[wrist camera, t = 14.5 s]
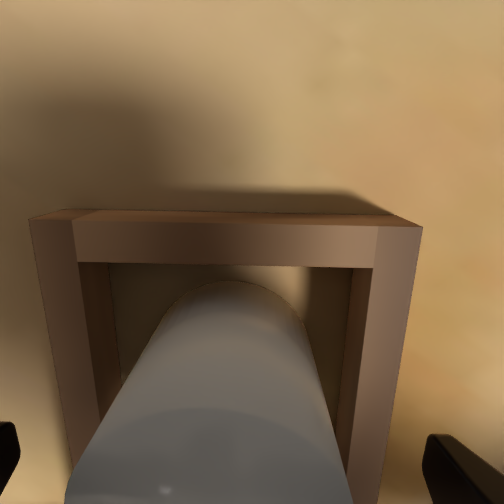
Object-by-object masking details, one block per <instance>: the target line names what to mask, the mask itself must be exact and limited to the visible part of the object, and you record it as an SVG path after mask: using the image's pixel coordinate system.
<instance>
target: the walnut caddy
mask: <svg viewBox="0 0 504 504" xmlns="http://www.w3.org/2000/svg"><path fill="white" fill-rule="evenodd" d="M28 220H29V226H30V231H31V237H32V242H33V248H34V254H35V259H36V265H37V270H38V276H39V281H40V287H41V293H42V298H43V304H44V309H45V315H46V320H47V326H48V332H49V337H50V343H51V348H52V354H53V359H54V365H55V371H56V376H57V382H58V387H59V393H60V399H61V404H62V410H63V415H64V421H65V426H66V432H67V438H68V443H69V449H70V454H71V460H72V465H73V470H74V468H75V466H76V465H77V463H78V461H79V459H80V458H81V456H82V454H83V453H84V451H85V449H86V448H87V446H88V444H89V442H90V441H91V439H92V437H93V436H94V434H95V432H96V430H97V429H98V427H99V425H100V424H101V422H102V420H103V419H104V417H105V415H106V413H107V412H108V410H109V408H110V407H111V405H112V403H113V402H114V400H115V398H116V396H117V395H118V393H119V391H120V390H121V388H122V384H121V375H120V367H119V358H118V349H117V340H116V332H115V323H114V314H113V305H112V297H111V288H110V279H109V270H108V262H116V263H163V264H209V265H256V266H303V267H349V268H353V275H352V284H351V293H350V302H349V311H348V320H347V329H346V338H345V348H344V357H343V366H342V375H341V384H340V393H339V402H338V411H337V421H336V430H335V438H336V442H337V445H338V449H339V453H340V456H341V460H342V464H343V467H344V471H345V475H346V478H347V482H348V486H349V489H350V493H351V497H352V500H353V504H377V499H378V493H379V487H380V481H381V475H382V469H383V463H384V457H385V451H386V445H387V440H388V434H389V428H390V422H391V416H392V410H393V404H394V398H395V392H396V386H397V380H398V374H399V368H400V362H401V356H402V350H403V344H404V338H405V332H406V326H407V320H408V314H409V308H410V302H411V296H412V290H413V284H414V278H415V272H416V266H417V260H418V254H419V248H420V242H421V236H422V230H423V227H422V226H419V225H417V224H415V223H412V222H410V221H408V220H406V219H403V218H401V217H399V216H397V215H349V214H297V213H245V212H193V211H142V210H90V209H64V210H60V211H56V212H53V213H49V214H46V215H42V216H39V217H35V218H31V219H28Z"/></svg>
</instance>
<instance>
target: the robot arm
mask: <svg viewBox="0 0 504 504" xmlns="http://www.w3.org/2000/svg"><path fill="white" fill-rule="evenodd" d="M20 453H21V450H20V445H19V441H18V437H17V432H16V428H15V425H14V424H13V423H12V422H5V421H0V496H1V494H2V492H3V490H4V488H5V486H6V484H7V483H8V481H9V479H10V477H11V475H12V473H13V471H14V470H15V468H16V466H17V464H18V461H19V459H20ZM422 471H423V475H424V478H425V481H426V484H427V487H428V490H429V493H430V496H431V498H432V501H433V504H504V475H503V474H501V473H500V472H499V471H497V470H496V469H495V468H493V467H492V466H491V465H490V464H488V463H487V462H486V461H484V460H483V459H482V458H480V457H479V456H478V455H476V454H475V453H474V452H472V451H471V450H470V449H468V448H467V447H466V446H464V445H463V444H462V443H461V442H459V441H458V440H457V439H455V438H454V437H452V436H451V435H448V434H430V435H429V436H428V438H427V441H426V446H425V451H424V455H423V460H422Z"/></svg>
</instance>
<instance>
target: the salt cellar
mask: <svg viewBox="0 0 504 504" xmlns="http://www.w3.org/2000/svg"><path fill="white" fill-rule="evenodd" d="M64 504H353V500H352V497H351V493H350V489H349V486H348V482H347V478H346V475H345V471H344V467H343V464H342V460H341V456H340V453H339V449H338V445H337V442H336V438H335V434H334V431H333V427H332V423H331V420H330V416H329V412H328V409H327V405H326V401H325V397H324V394H323V390H322V386H321V383H320V379H319V375H318V372H317V368H316V364H315V361H314V357H313V353H312V350H311V346H310V342H309V339H308V335H307V332H306V329H305V327H304V324H303V322H302V320H301V319H300V317H299V316H298V314H297V313H296V311H295V310H294V309H293V308H292V307H291V306H290V305H289V304H288V303H287V302H286V301H285V300H284V299H282V298H281V297H280V296H278V295H276V294H275V293H273V292H272V291H269V290H267V289H265V288H263V287H260V286H257V285H254V284H250V283H245V282H237V281H222V282H215V283H210V284H207V285H203V286H200V287H198V288H196V289H193V290H191V291H190V292H188V293H186V294H185V295H183V296H182V297H180V298H179V299H178V300H177V301H176V302H175V303H174V304H173V305H172V306H171V307H170V308H169V309H168V311H167V312H166V314H165V315H164V316H163V318H162V320H161V322H160V323H159V325H158V327H157V328H156V330H155V332H154V333H153V335H152V337H151V339H150V340H149V342H148V344H147V345H146V347H145V349H144V350H143V352H142V354H141V356H140V357H139V359H138V361H137V362H136V364H135V366H134V367H133V369H132V371H131V373H130V374H129V376H128V378H127V379H126V381H125V383H124V385H123V386H122V388H121V390H120V391H119V393H118V395H117V396H116V398H115V400H114V402H113V403H112V405H111V407H110V408H109V410H108V412H107V413H106V415H105V417H104V419H103V420H102V422H101V424H100V425H99V427H98V429H97V430H96V432H95V434H94V436H93V437H92V439H91V441H90V442H89V444H88V446H87V448H86V449H85V451H84V453H83V454H82V456H81V458H80V459H79V461H78V463H77V465H76V466H75V468H74V470H73V472H72V474H71V477H70V479H69V481H68V485H67V489H66V493H65V501H64Z"/></svg>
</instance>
